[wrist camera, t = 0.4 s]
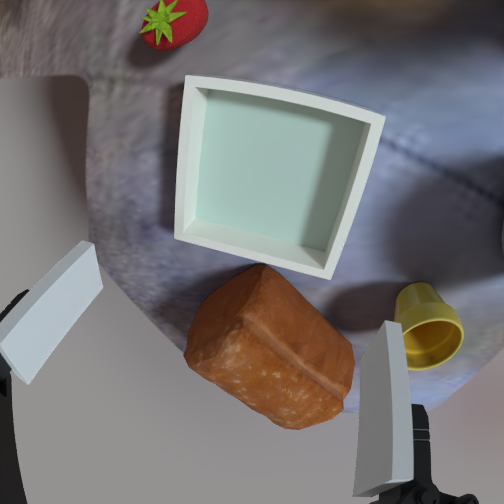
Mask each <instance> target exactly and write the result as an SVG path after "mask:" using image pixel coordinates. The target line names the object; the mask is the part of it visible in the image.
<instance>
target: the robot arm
mask: <svg viewBox="0 0 504 504" xmlns="http://www.w3.org/2000/svg"><path fill="white" fill-rule="evenodd" d="M102 288H103V285H102V281H101V276H100V272H99V268H98V262H97V257H96V252H95V247H94V244H93V243H90V242H87V241H83V240H82V241H81V242H80V243H78V244H77V245H76V246H75V247H74V248H73V249H72V250H71V251H70V252H69V253H67V254H66V255H65V257H63V258H62V259H61V260H60V261H59V262H58V263H57V264H56V265H55V266H54V267H53V268H52V269H51V270H50V271H49V272H48V273H47V274H46V275H45V276H44V277H42V279H41V280H40V281H39V282H38V283H37V284H36V285H35V286H34V287H33V288H32V289H31V290H28V289H27V290H25V291H23V292H22V293H20V294H18V295H17V296H16V297H15V298H14V299H13V300H12V301H11V304H9V305H8V306H7V307H6V308H5V310H4V311H2V313H1V314H0V504H27V500H26V496H25V492H24V488H23V483H22V478H21V473H20V468H19V463H18V457H17V449H16V443H15V433H14V423H13V410H12V387H11V374H10V373H9V372H10V371H11V369H12V370H13V371H14V373H15V374H16V375H17V376H18V377H19V378H20V379H21V380H23V381H24V382H25V383H27V384H28V385H29V384H30V382H31V381H32V379H33V378H34V377H35V375H36V374H37V372H38V371H39V369H40V368H41V367H42V365H43V364H44V362H45V361H46V360H47V358H48V357H49V356H50V354H51V353H52V351H53V350H54V349H55V348H56V346H57V345H58V344H59V342H60V341H61V339H62V338H63V337H64V336H65V334H66V333H67V332H68V330H69V329H70V328H71V327H72V325H73V324H74V323H75V322H76V320H77V319H78V318H79V316H80V315H81V314H82V313H83V311H84V310H85V309H86V308H87V307H88V305H89V304H90V303H91V302H92V301H93V299H94V298H95V297H96V296H97V294H98V293H99V292H100V291H101V290H102ZM429 440H430V435H429V422H428V415H427V413H426V411H425V409H424V406H423V405H420V404H411V397H410V386H409V377H408V368H407V360H406V353H405V346H404V339H403V333H402V327H401V323H396V322H391V321H387V320H385V321H384V323H383V324H382V326H381V328H380V329H379V331H378V333H377V334H376V336H375V337H374V339H373V340H372V342H371V344H370V345H369V347H368V348H367V350H366V351H365V353H364V354H363V356H362V357H361V359H360V410H359V432H358V448H357V461H356V471H355V482H354V490H353V496H354V497H373V496H375V495H378V494H379V500H377V501H374V502H371V503H369V504H479V502H478V500H477V498H476V497H475V496H474V495H473V494H466V495H463V496H461V497H456V496H452V495H448V494H445V493H442V492H440V491H439V490H438V488H437V487H436V486H435V485H434V484H433V482H432V478H431V452H430V442H429Z"/></svg>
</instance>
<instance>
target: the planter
mask: <svg viewBox="0 0 504 504" xmlns="http://www.w3.org/2000/svg"><path fill="white" fill-rule="evenodd" d="M502 250H503V255H504V222H503V228H502Z"/></svg>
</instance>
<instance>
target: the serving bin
mask: <svg viewBox="0 0 504 504" xmlns="http://www.w3.org/2000/svg"><path fill="white" fill-rule="evenodd" d="M385 118H386V116H385V115H383V114H381V113H380V112H378V111H376V110H373V109H370V108H367V107H364V106H361V105H358V104H354V103H351V102H347V101H344V100H340V99H337V98H333V97H329V96H325V95H321V94H317V93H313V92H309V91H305V90H300V89H296V88H291V87H286V86H281V85H276V84H271V83H265V82H259V81H253V80H247V79H240V78H232V77H225V76H216V75H206V74H198V75H186V77H185V85H184V94H183V103H182V113H181V123H180V135H179V147H178V161H177V177H176V197H175V226H174V239H178V240H182V241H185V242H189V243H193V244H197V245H200V246H204V247H208V248H211V249H215V250H219V251H223V252H226V253H230V254H234V255H237V256H241V257H245V258H249V259H252V260H256V261H260V262H264V263H267V264H271V265H275V266H279V267H283V268H286V269H290V270H294V271H298V272H301V273H305V274H309V275H313V276H317V277H320V278H324V279H328V280H331V277H332V275H333V272H334V270H335V267H336V265H337V262H338V260H339V257H340V255H341V252H342V249H343V247H344V244H345V241H346V239H347V236H348V233H349V231H350V228H351V225H352V222H353V220H354V217H355V214H356V211H357V208H358V205H359V202H360V199H361V196H362V194H363V191H364V188H365V184H366V181H367V178H368V175H369V172H370V169H371V166H372V163H373V159H374V156H375V153H376V149H377V146H378V143H379V139H380V136H381V132H382V129H383V125H384V122H385Z"/></svg>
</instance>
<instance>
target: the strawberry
mask: <svg viewBox="0 0 504 504" xmlns="http://www.w3.org/2000/svg"><path fill="white" fill-rule="evenodd" d="M145 8H146V7H145ZM146 10H147V11H148V14H147V16H146V17H143V18H141V19H143V20H144V22H143V25H142V30H141V32H140V33H139V34H141V33H142V37H143V40H144V42H145V43H146V44H147V45H148V46H150V47H152V48H154V49H156V50H160V51H167V50H172V49H175V48H178V47H180V46H182V45H185V44H187V43H189V42H190V41H192V40H193V39H194V38H196V37H197V36H198V35H199V34H200V33H201V31H202V30H203V29H204V27H205V25H206V23H207V20H208V9H207V5H206V2H205V1H204V0H161V1H159V2H158V3H157V4H156V5H155V6H154V7H153V8H152V9H149V8H146Z"/></svg>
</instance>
